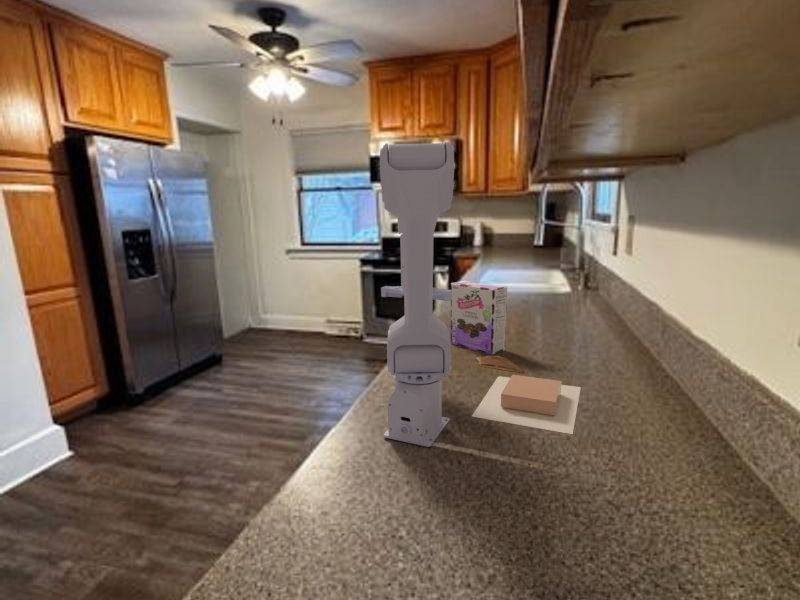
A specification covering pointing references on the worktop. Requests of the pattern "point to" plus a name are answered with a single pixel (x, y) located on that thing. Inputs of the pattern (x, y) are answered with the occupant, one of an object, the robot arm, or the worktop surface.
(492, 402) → the cutting board
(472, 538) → the worktop surface
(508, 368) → the shard
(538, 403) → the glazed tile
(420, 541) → the worktop surface
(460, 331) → the candy box
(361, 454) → the worktop surface
